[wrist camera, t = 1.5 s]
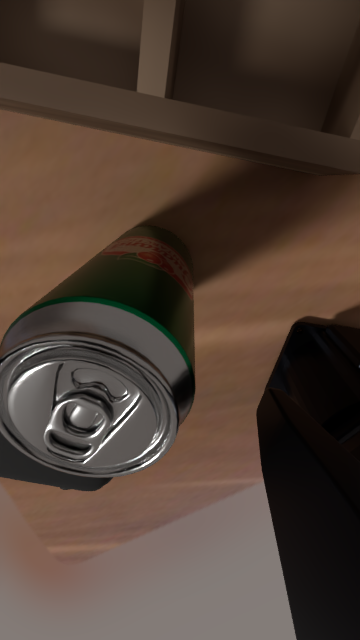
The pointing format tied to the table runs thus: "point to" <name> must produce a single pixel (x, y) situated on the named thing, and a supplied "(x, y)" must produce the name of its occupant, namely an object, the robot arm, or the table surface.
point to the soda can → (104, 361)
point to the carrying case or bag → (41, 471)
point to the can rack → (194, 74)
